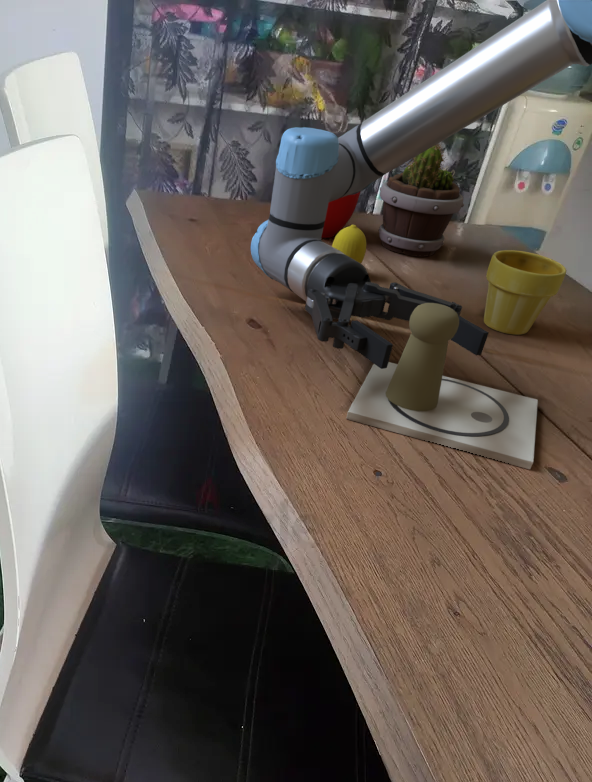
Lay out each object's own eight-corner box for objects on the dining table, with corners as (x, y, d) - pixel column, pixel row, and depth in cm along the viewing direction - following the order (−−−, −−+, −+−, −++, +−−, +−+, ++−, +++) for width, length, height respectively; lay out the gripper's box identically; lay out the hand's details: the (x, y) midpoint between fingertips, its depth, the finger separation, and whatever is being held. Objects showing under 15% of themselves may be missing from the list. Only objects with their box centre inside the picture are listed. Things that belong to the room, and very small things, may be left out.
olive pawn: (427, 416, 82) (457, 323, 76) (377, 398, 84) (402, 306, 78) (444, 397, 86) (474, 307, 80) (396, 381, 89) (421, 292, 82)
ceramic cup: (255, 229, 138) (263, 172, 132) (313, 219, 148) (323, 165, 142) (307, 250, 131) (317, 191, 125) (364, 237, 141) (376, 182, 135)
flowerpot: (381, 231, 146) (408, 119, 134) (457, 249, 141) (491, 135, 129) (356, 247, 136) (382, 127, 124) (436, 268, 131) (472, 144, 119)
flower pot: (547, 345, 106) (574, 278, 100) (475, 333, 107) (498, 266, 101) (534, 319, 114) (558, 256, 109) (467, 308, 115) (488, 245, 109)
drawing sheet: (535, 406, 90) (538, 398, 89) (530, 470, 77) (534, 460, 77) (374, 365, 94) (376, 357, 94) (346, 419, 82) (348, 410, 81)
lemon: (323, 275, 121) (333, 225, 116) (331, 266, 125) (341, 217, 121) (356, 282, 120) (367, 232, 115) (363, 273, 124) (374, 224, 119)
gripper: (397, 302, 102) (507, 368, 88) (241, 317, 92) (335, 395, 78) (412, 247, 98) (530, 308, 83) (249, 256, 88) (351, 328, 73)
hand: (436, 350), depth 80 cm, fingers open, 13 cm apart
